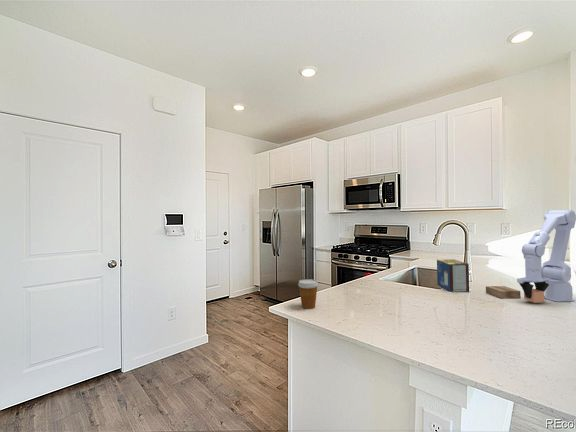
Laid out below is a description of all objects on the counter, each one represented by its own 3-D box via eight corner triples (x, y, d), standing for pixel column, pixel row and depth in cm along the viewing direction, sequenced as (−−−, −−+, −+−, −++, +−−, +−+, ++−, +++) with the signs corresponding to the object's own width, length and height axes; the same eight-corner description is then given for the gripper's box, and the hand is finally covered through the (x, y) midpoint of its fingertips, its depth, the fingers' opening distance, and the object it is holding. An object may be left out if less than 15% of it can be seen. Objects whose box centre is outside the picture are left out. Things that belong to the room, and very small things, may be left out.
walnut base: (504, 293, 145) (504, 285, 145) (520, 299, 135) (520, 291, 135) (485, 293, 144) (485, 286, 144) (500, 299, 134) (500, 291, 134)
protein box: (455, 285, 162) (454, 259, 162) (469, 292, 147) (469, 263, 147) (436, 284, 163) (436, 259, 163) (449, 292, 148) (449, 263, 148)
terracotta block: (534, 298, 130) (533, 288, 130) (544, 302, 125) (544, 291, 125) (524, 299, 130) (523, 288, 130) (534, 302, 125) (533, 291, 125)
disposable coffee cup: (295, 308, 125) (294, 282, 125) (303, 302, 134) (303, 278, 134) (314, 311, 121) (313, 284, 121) (321, 305, 129) (321, 280, 129)
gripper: (526, 271, 123) (527, 300, 123) (556, 270, 124) (557, 299, 124) (513, 268, 130) (513, 296, 130) (541, 267, 131) (542, 295, 131)
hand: (533, 297), depth 128 cm, fingers closed on terracotta block, 5 cm apart
